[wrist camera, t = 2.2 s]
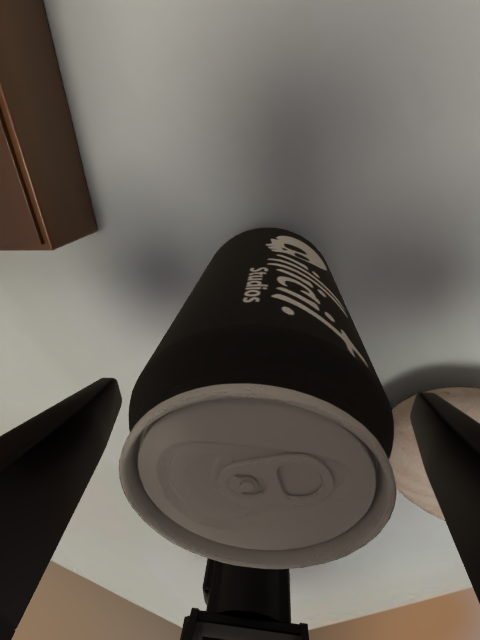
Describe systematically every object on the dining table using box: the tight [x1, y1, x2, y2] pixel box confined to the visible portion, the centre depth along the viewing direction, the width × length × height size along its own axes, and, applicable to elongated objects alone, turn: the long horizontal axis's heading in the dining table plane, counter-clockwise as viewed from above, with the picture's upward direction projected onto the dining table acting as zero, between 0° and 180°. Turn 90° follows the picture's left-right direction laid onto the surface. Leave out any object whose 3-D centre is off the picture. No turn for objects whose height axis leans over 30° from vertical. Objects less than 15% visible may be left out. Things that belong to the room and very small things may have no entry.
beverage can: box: [119, 228, 396, 569], centre depth 12 cm, size 7×7×12 cm
